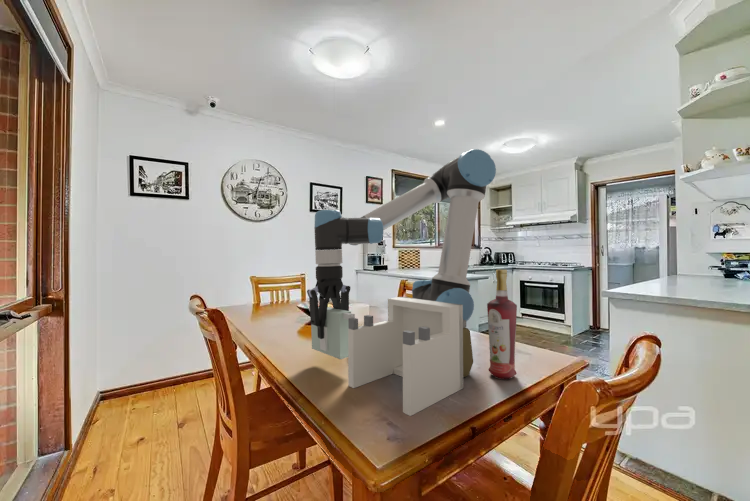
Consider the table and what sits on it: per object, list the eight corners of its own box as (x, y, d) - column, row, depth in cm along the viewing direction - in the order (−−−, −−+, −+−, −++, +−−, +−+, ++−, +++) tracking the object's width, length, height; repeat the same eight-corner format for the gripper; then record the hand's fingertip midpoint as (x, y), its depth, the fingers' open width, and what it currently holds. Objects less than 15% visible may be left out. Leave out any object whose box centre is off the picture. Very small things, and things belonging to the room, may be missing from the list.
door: (317, 343, 99) (316, 304, 99) (359, 358, 84) (358, 313, 84) (306, 346, 96) (305, 306, 96) (347, 362, 81) (346, 315, 81)
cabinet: (401, 366, 91) (401, 296, 91) (463, 388, 77) (462, 304, 77) (348, 385, 78) (348, 304, 78) (410, 416, 63) (409, 315, 64)
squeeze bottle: (436, 370, 88) (436, 305, 88) (460, 366, 91) (459, 303, 91) (454, 381, 80) (454, 310, 81) (480, 376, 84) (479, 308, 84)
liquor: (523, 377, 83) (522, 270, 83) (506, 384, 79) (505, 270, 79) (498, 369, 89) (498, 268, 89) (481, 374, 85) (480, 269, 85)
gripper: (345, 263, 99) (346, 339, 99) (295, 266, 87) (297, 351, 87) (360, 263, 93) (362, 343, 93) (309, 266, 82) (311, 358, 82)
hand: (331, 347), depth 90 cm, fingers closed on door, 4 cm apart
